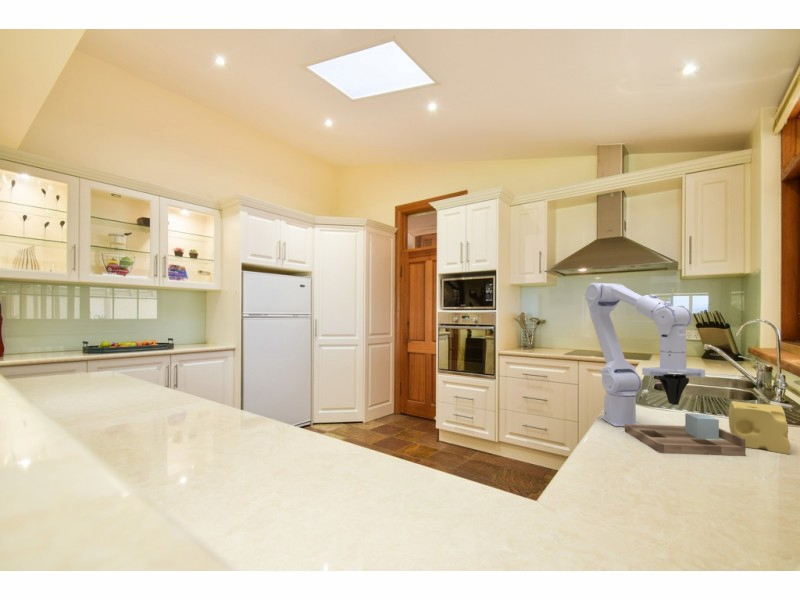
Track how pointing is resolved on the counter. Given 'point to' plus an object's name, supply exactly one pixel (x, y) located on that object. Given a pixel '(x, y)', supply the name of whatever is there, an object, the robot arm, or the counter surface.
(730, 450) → the board
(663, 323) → the robot arm
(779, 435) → the cheese
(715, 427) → the blue block
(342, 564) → the counter surface
